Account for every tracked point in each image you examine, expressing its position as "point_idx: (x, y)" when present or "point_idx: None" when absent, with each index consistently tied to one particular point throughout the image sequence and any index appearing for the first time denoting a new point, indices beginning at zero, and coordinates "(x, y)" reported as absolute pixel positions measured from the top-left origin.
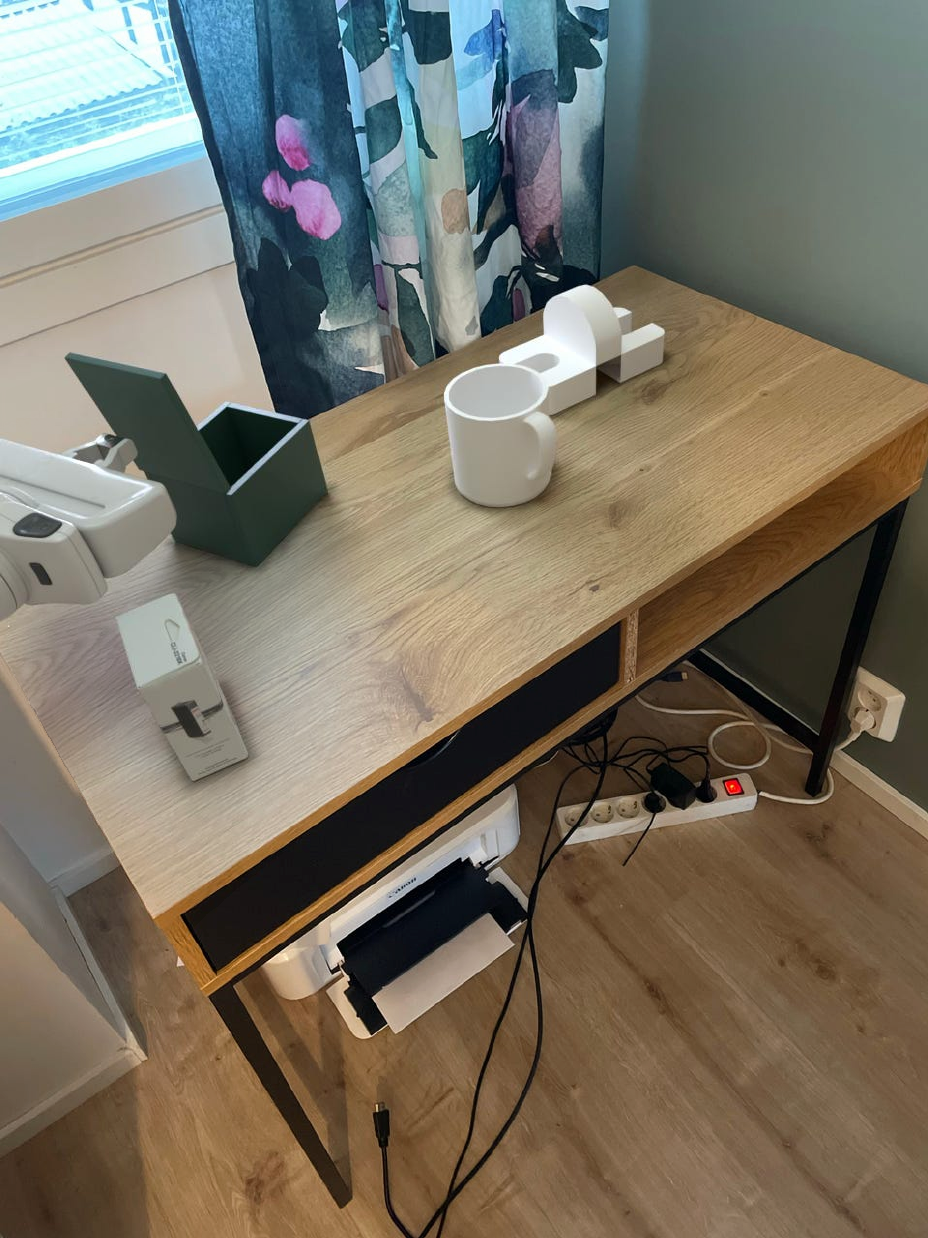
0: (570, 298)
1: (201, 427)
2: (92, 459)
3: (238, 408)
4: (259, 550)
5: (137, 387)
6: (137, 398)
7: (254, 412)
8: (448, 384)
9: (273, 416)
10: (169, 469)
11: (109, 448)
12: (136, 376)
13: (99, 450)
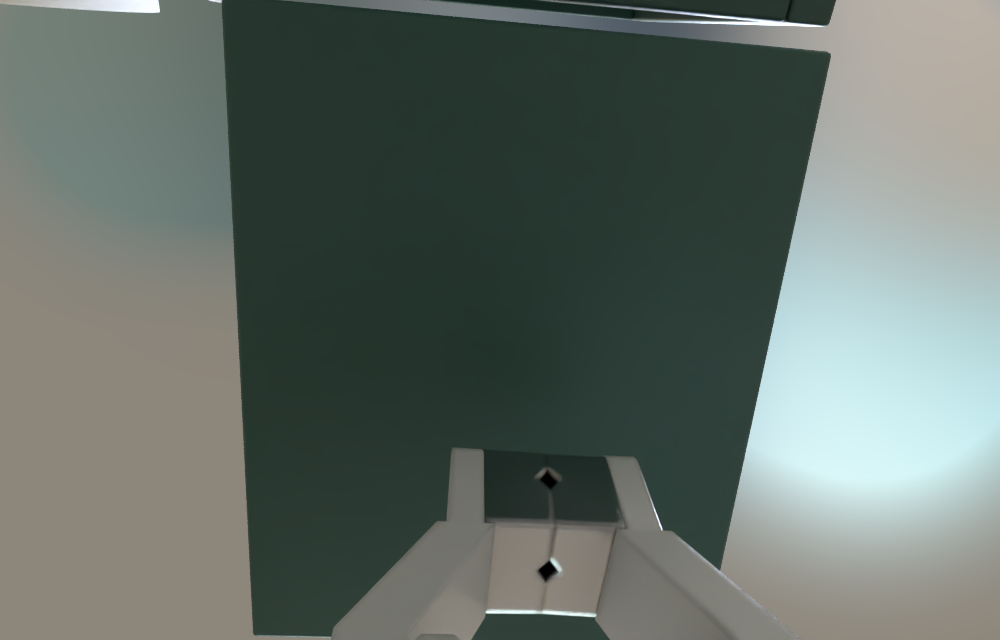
0: (217, 1)
1: (668, 20)
2: (650, 609)
3: (593, 15)
4: None
5: None
6: None
7: (536, 9)
8: (142, 12)
9: (469, 3)
10: (565, 116)
11: (501, 610)
12: None
13: (603, 588)
